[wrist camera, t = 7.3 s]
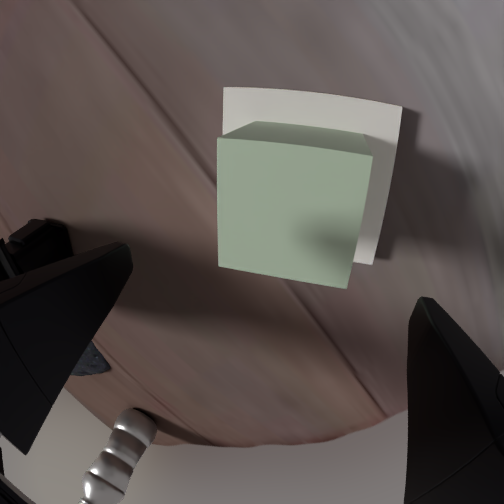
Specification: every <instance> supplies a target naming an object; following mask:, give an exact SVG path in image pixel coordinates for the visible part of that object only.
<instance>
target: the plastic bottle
mask: <svg viewBox="0 0 504 504" xmlns="http://www.w3.org/2000/svg"><path fill="white" fill-rule="evenodd" d="M156 433H157V427H156V424H155V422H154V421H153V420H152V419H151V418H149V417H148V416H147V415H145V414H143V413H142V412H140V411H137V410H135V409H131V408H129V409H126V410H123V411H122V413H121V414H120V415H119V416H118V417H117V420H116V422H115V425H114V429H113V431H112V433H111V435H110V437H109V440H108V442H107V444H106V446H105V447H104V449H103V451H102V452H101V453H100V455H99V456H98V458H97V459H96V460H95V461H94V463H93V464H92V465H91V467H89V469H88V470H87V471H86V472H85V474H84V475H83V479H82V484H83V491H84V497H83V498H80V501H79V503H78V504H117V503H119V502H120V501H121V500H122V499H123V498H124V495H125V492H126V489H127V486H128V483H129V480H130V477H131V475H132V473H133V469H134V468H135V466H136V464H137V462H138V461H139V459H140V458H141V456H142V455H143V453H144V452H145V450H146V448H148V447H149V446H150V445H151V443H152V442H153V440H154V439H155V436H156Z"/></svg>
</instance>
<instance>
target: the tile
mask: <svg viewBox="0 0 504 504" xmlns="http://www.w3.org/2000/svg"><path fill="white" fill-rule="evenodd" d="M401 114H402V107H401V106H398V105H393V104H388V103H383V102H378V101H373V100H367V99H361V98H355V97H349V96H342V95H335V94H327V93H319V92H310V91H300V90H289V89H275V88H256V87H224V95H223V135H225V134H227V133H229V132H231V131H233V130H236V129H238V128H240V127H242V126H245V125H247V124H249V123H252V122H254V121H265V122H277V123H288V124H297V125H306V126H314V127H322V128H330V129H337V130H343V131H350V132H356V133H362V134H363V136H364V138H365V140H366V142H367V144H368V147H369V149H370V151H371V153H372V155H373V159H372V166H371V172H370V178H369V184H368V190H367V196H366V201H365V207H364V212H363V217H362V222H361V227H360V232H359V237H358V241H357V246H356V251H355V255H354V260H353V262H358V263H364V264H370V265H372V263H373V259H374V256H375V252H376V248H377V244H378V240H379V236H380V231H381V227H382V223H383V218H384V214H385V209H386V204H387V200H388V195H389V190H390V184H391V179H392V174H393V168H394V162H395V156H396V150H397V144H398V137H399V130H400V122H401Z"/></svg>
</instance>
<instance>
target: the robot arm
mask: <svg viewBox="0 0 504 504" xmlns="http://www.w3.org/2000/svg"><path fill="white" fill-rule="evenodd" d="M8 239H9V242H8V243H6V244H4V243H5V242H4V240H3V238H2V239H0V437H1V436H3V437H5V438H6V439H7V440H8V441H9V442H10V443H11V444H12V445H13V446H15V447H16V448H17V449H18V450H19V451H21V452H22V453H23V454H24V455H26V454H27V453H28V452H29V450H30V448H31V446H32V444H33V442H34V440H35V438H36V436H37V434H38V432H39V430H40V428H41V427H42V425H43V423H44V421H45V419H46V417H47V415H48V414H49V412H50V410H51V408H52V405H53V404H54V402H55V400H56V399H57V397H58V395H59V393H60V392H61V390H62V388H63V386H64V385H65V383H66V381H67V380H68V378H69V376H70V374H71V373H72V371H73V369H74V368H75V366H76V364H77V363H78V361H79V359H80V358H81V356H82V355H83V353H84V351H85V350H86V348H87V347H88V345H89V343H90V342H91V340H92V339H93V337H94V335H95V334H96V332H97V331H98V329H99V328H100V326H101V325H102V323H103V321H104V320H105V318H106V317H107V315H108V314H109V312H110V311H111V309H112V308H113V306H114V304H115V302H116V300H117V299H118V297H119V295H120V293H121V291H122V289H123V287H124V286H125V284H126V282H127V280H128V278H129V276H130V275H131V273H132V270H133V262H132V257H131V252H130V247H129V245H128V244H126V243H121V242H115V243H112V244H109V245H106V246H102V247H99V248H96V249H93V250H90V251H87V252H84V253H81V254H78V255H75V256H73V253H72V249H71V245H70V241H69V237H68V233H67V230H66V227H65V226H64V225H60V224H55V223H49V222H48V221H42V220H37V219H34V220H33V219H31V220H29V221H28V224H26V225H25V226H23V227H22V228H20V229H19V230H17V231H16V232H14V233H13V234H11V235H10V236H9V238H8ZM407 390H408V453H407V471H406V486H405V496H404V504H504V377H503V375H502V374H500V372H499V371H498V369H497V368H496V367H495V366H494V365H493V363H492V362H491V361H490V360H489V359H488V358H487V356H486V355H485V354H484V353H483V352H482V351H481V350H480V348H479V347H478V346H477V345H476V344H475V343H474V342H473V341H472V339H471V338H470V337H469V336H468V335H467V334H466V333H465V332H464V331H463V330H462V328H461V327H460V326H459V325H458V324H457V323H456V322H455V321H454V320H453V319H452V318H451V317H450V316H449V315H448V313H447V312H446V311H445V310H444V309H443V308H442V307H441V306H440V305H439V304H438V303H437V302H436V301H435V300H434V299H433V298H428V297H420V298H419V299H418V300H417V303H416V305H415V308H414V310H413V312H412V315H411V317H410V320H409V325H408V356H407ZM0 504H36V503H34V502H33V501H31V499H29V498H28V497H27V496H26V495H24V494H23V493H22V492H21V491H20V490H19V489H18V488H16V487H15V486H14V485H13V484H12V483H11V482H10V481H9V480H7V479H6V478H5V476H4V470H3V460H2V451H1V447H0Z"/></svg>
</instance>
